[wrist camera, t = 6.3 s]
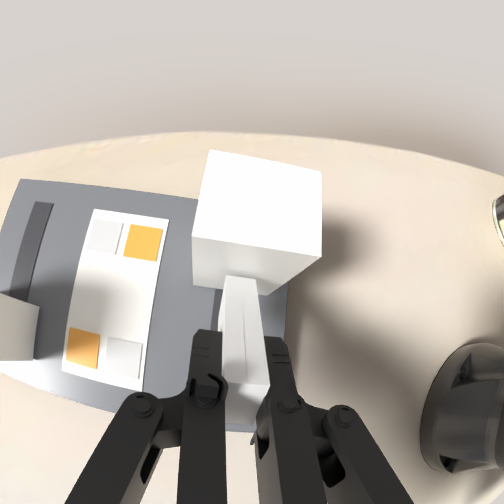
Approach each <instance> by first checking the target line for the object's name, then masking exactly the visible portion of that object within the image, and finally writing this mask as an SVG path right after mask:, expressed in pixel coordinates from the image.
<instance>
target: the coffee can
mask: <svg viewBox="0 0 504 504" xmlns="http://www.w3.org/2000/svg"><path fill="white" fill-rule="evenodd" d="M492 212H493V219H494V223H495V227H496V230H497V233H498V236H499V238H500V240H501V242H502V244H503V246H504V195H502V196H501V197H499V198H497V199H495V200H494V202H493V209H492Z"/></svg>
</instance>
